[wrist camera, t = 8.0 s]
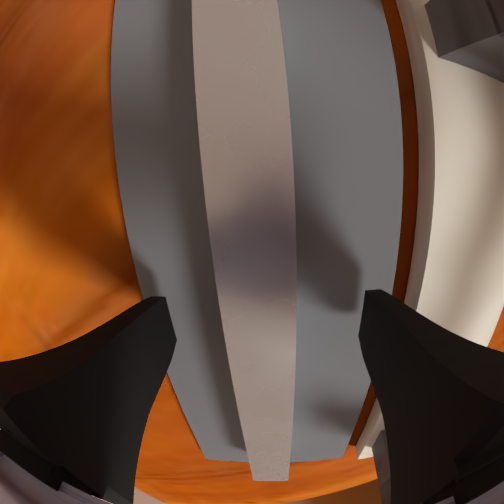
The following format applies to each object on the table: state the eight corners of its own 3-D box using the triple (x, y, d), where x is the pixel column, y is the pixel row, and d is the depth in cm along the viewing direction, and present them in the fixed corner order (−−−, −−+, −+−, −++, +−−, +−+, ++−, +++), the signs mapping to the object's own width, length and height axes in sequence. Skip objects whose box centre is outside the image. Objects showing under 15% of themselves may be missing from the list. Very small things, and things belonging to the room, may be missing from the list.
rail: (269, -23, 6) (267, -57, 4) (288, 454, 15) (288, 480, 13) (207, -16, 6) (192, -47, 4) (255, 454, 15) (253, 480, 13)
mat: (364, -32, 5) (367, -38, 5) (341, 451, 15) (342, 457, 15) (123, -8, 6) (117, -12, 6) (207, 452, 16) (205, 458, 16)
